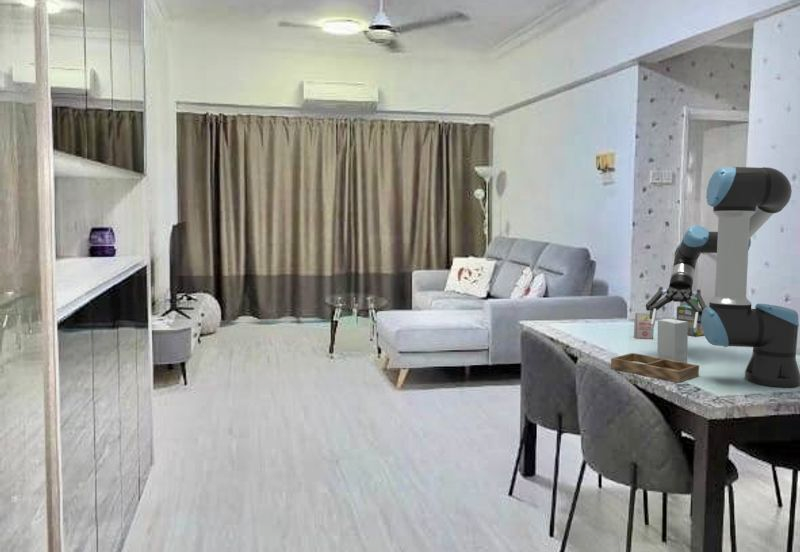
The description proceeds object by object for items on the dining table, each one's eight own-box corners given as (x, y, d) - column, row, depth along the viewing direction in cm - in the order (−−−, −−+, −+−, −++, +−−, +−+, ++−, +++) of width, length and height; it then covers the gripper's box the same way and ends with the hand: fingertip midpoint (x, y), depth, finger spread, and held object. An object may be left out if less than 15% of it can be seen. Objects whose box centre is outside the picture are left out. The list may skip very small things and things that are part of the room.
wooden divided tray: (698, 375, 221) (699, 365, 221) (678, 382, 213) (678, 371, 212) (632, 362, 239) (632, 352, 238) (610, 368, 230) (611, 358, 230)
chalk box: (708, 334, 289) (710, 298, 287) (695, 337, 284) (697, 300, 282) (688, 331, 297) (690, 296, 295) (675, 333, 291) (677, 297, 290)
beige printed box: (633, 336, 283) (634, 312, 282) (651, 337, 282) (652, 312, 281) (635, 338, 279) (636, 313, 278) (653, 339, 278) (654, 314, 277)
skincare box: (687, 365, 235) (690, 321, 233) (673, 367, 232) (676, 322, 230) (668, 360, 242) (670, 317, 240) (655, 361, 240) (657, 318, 238)
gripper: (720, 288, 248) (713, 338, 237) (646, 283, 260) (636, 330, 249) (719, 275, 243) (712, 325, 232) (644, 270, 255) (634, 317, 244)
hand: (673, 328), depth 240 cm, fingers open, 13 cm apart
